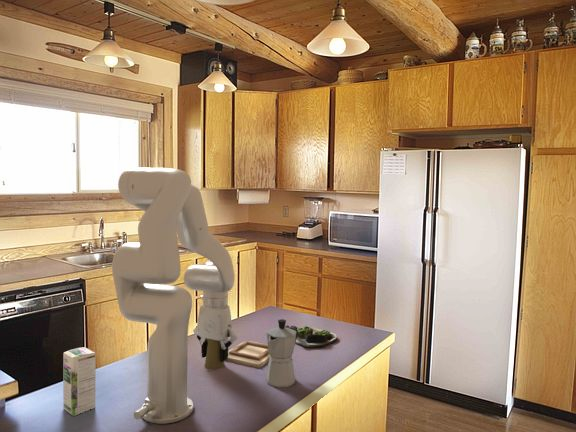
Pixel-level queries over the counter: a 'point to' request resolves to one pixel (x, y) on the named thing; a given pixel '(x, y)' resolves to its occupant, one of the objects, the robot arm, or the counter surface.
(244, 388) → the counter surface
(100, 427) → the counter surface
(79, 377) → the syrup box
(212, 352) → the cork
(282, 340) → the coffee maker
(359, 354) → the counter surface
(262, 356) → the maple board
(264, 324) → the counter surface
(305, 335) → the salad plate
